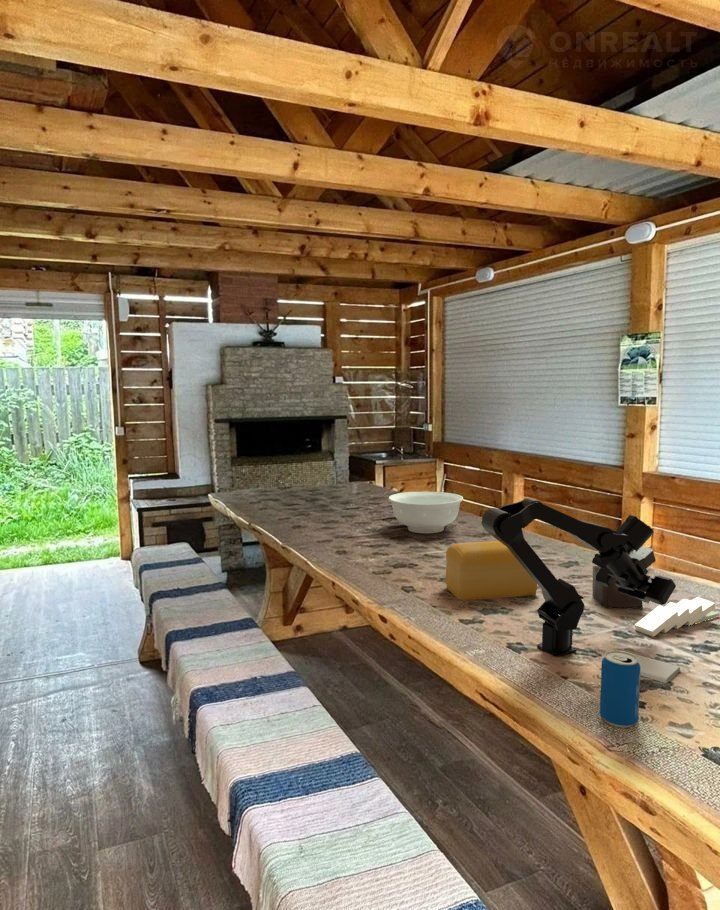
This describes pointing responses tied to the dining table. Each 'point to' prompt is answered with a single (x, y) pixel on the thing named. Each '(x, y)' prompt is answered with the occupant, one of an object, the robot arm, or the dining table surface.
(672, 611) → the domino
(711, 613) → the domino
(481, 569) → the bread
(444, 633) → the dining table surface
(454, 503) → the bowl
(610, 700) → the beverage can
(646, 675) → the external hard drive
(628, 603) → the dark brown boxy piece
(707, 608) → the domino
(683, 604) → the domino
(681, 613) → the domino
